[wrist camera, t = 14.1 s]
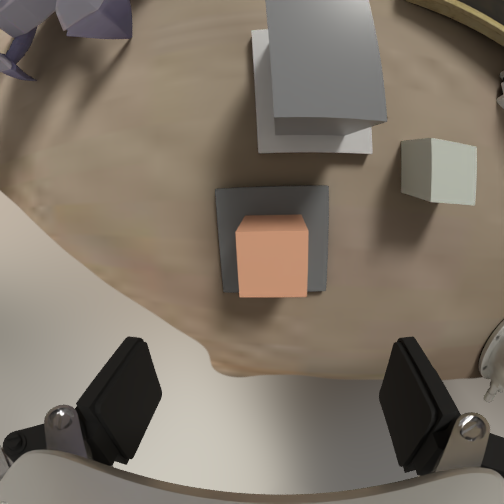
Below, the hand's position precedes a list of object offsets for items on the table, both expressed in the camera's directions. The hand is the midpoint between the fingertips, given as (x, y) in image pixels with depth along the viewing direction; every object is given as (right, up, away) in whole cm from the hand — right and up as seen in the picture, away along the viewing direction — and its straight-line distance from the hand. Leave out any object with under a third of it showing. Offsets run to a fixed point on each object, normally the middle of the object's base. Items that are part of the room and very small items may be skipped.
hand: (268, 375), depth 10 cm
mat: (+1, +6, +17) cm, 18 cm away
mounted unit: (+5, +19, +12) cm, 23 cm away
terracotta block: (+1, +5, +16) cm, 17 cm away
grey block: (+16, +13, +13) cm, 24 cm away
